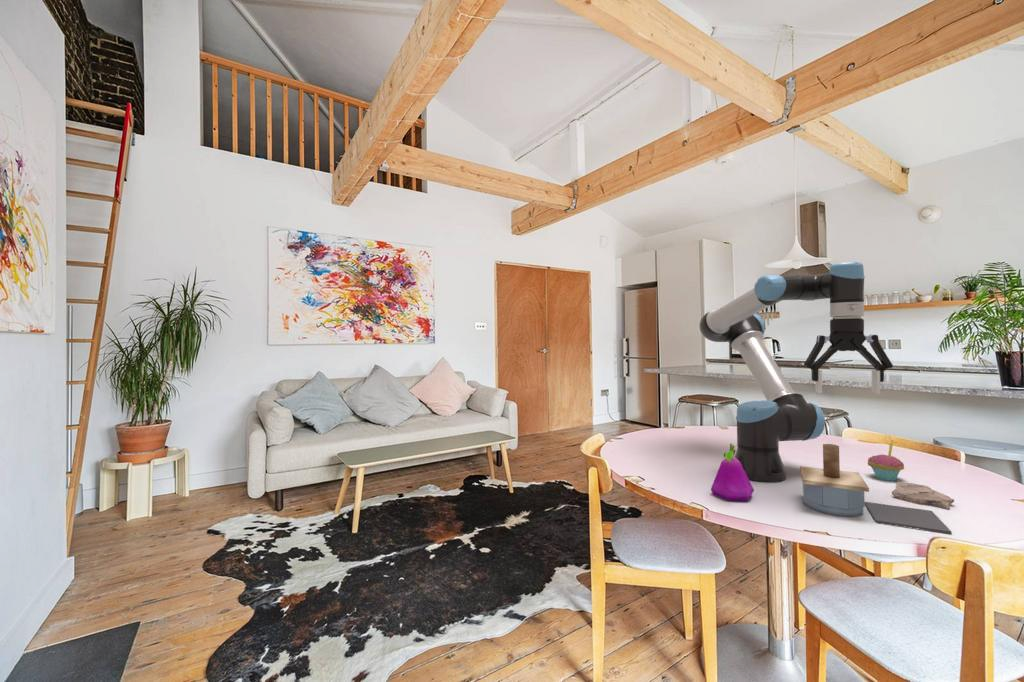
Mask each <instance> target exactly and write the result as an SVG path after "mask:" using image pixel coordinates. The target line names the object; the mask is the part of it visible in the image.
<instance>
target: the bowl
mask: <svg viewBox="0 0 1024 682" xmlns="http://www.w3.org/2000/svg"><path fill="white" fill-rule="evenodd" d="M801 481H802V483H801V484H802V495H803V496H802V499H803V504H804V505H805V506H806V507H807V508H809V509H811V510H813V511H817V512H819V513H822V514H827V515H831V516H838V517H847V518H849V517H850V518H851V517H859V516H861V515H863V514H864V508H866V505H865V491H857V490H850V489H842V488H834V487H826V486H818V485H810V484H803V480H802V479H801Z"/></svg>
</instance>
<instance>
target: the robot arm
mask: <svg viewBox="0 0 1024 682" xmlns="http://www.w3.org/2000/svg"><path fill="white" fill-rule="evenodd" d="M864 270H865V269H864V264H863V263H861V262H859V261H847V262H838V263H837V262H836V263H834V264H831V265H830V267H829V271H828V273H827V272H826V273H821V274H768V275H762V276H760V277H759V278H758V279H757V281H756V282H755V283H754V287H753V288H751V289H749V291H747V292H745V293H743V294H741V295H740V296H738V297H736V298H734V300H731V301H730V302H728V303H726V304H725V305H723V306H721V307H720V308H714V309H711V310H709V311H707V313H705V314H704V315H703V316H702V317H701V318H700V321H699V331H700V333H701V334H702V336H703V337H704V338H705V339H706V340H708V341H710V342H714V343H728V344H729V345H730V348H732V350H734V351H736V352H738V353H739V354H740V356H741V358H742V359H743V361H744V363H745V364H746V367H747V368H748V370H749V371H750V373H751V375H752V376H753V378H754V380H755V382H756V384H757V386H758V387H759V389H760V391H761V392H762V394H763V396H764V397H765V399H766V400H752V401H745V402H742V403H740V404H739V405H738V406H737V408H736V416H735V420H736V438H737V439H736V440H737V441H736V442H737V445H736V446H737V449H736V451H735V454H734V457H735V458H736V459H738V460H739V461H740V463H741V465H742V467H743V469H744V471H745V473H746V475H747V477H748V479H749V481H755V482H765V483H768V482H769V483H775V482H781V481H785V480H786V478H787V470H786V468H785V466H784V463H783V461H782V457H781V455H780V451H779V450H780V449H779V448H780V447H779V446H780V445H779V442H791V441H792V442H793V441H794V442H795V441H802V442H803V441H808V440H814V439H817V438H819V437H820V436H821V435H822V434H823V432H824V431H825V425H826V418H825V414H824V412H823V410H822V408H821V407H820V406H818V404H816V403H815V404H814V403H812V402H807V400H806V399H805V398H804V396H803V394H801V393H799V392H795V390H793V388H792V386H791V384H790V383H789V382H788V380H787V378H786V377H785V375H784V373H783V372H782V370H781V369H780V367H779V366H778V364H777V363H776V361H775V360H774V358H773V356H772V355H771V353H770V351H769V350H768V348H767V347H766V345H765V343H764V341H763V340H764V338H765V337H764V336H765V330H766V329H765V328H764V326H765V323H764V321H763V319H762V317H761V316H760V315H758V313H760V312H762V311H763V310H765V309H767V308H769V307H771V306H773V305H775V304H777V303H779V302H781V301H811V302H812V301H816V300H826V299H829V317H830V318H831V319H830V320H829V335H828V336H826V335H822V334H821V335H817V336H816V340H815V341H816V342H815V344H814V346H813V347H812V350H811V351H810V352H809V355H808V357H807V358H806V360H805V361H804V363H803V366H804V367H805V368H808V369H810V370H811V381H813V382H815V386H814V387H815V388H814V389H815V393H817V394H823V369H822V370H821V369H820V368H821V367H822V366H823V365H824V364H825V363H826V362H827V361H828V360H829V359H830V358H831V357H832V356H833V355H834V354H835V353H837V352H838V351H839V352H847V351H848V352H855V351H856V352H858V353H859V354H860V355H861V356H862V357H863V358H864V359H865V360H866V361H867V362H868V363H869V364H870V365H871V366H872V367H873V368H874V369H871V393H872V394H875V395H881V383H883V382H884V381H885V376H884V375H885V371H887V369H892V368H893V367H894V365H893V363H892V362H891V360H890V358H889V356H888V355H887V353H886V352H885V350H884V349H883V347H882V345H881V343H880V341H879V335H878V334H869V335H865V333H864V332H865V320H864V318H862V317H863V316H864V315H865V302H864V301H865V300H864V299H865V295H864V294H865V272H864ZM828 341H829V343H830V344H831V345H829V347H828V348H827V350H826V351H824V353H822V355H821V356H819V354H820V352H822V349H823V347H824V346H825V344H827V342H828ZM865 341H866V342H867V343H868V344H869V345H870V347H871V348H872V351H873V352H874V354H875V355H876V357H875V356H874V355H873V354H872V353H871V352H870V351H868V349H867V347H865V346H864V345H863V344H864V343H865ZM818 357H819V358H818ZM877 358H878V359H877ZM816 359H817V360H816Z"/></svg>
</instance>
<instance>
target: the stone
mask: <svg viewBox="0 0 1024 682" xmlns="http://www.w3.org/2000/svg"><path fill="white" fill-rule="evenodd" d="M891 495H892V496H893V497H894V498H895V499H897V500H901V501H905V502H908V503H912V504H917V505H920V506H921V505H926V506H931V507H936V508H939V509H943V510H950V509H951V508H950V507H951V505H952V503H954V502H955V499H954V498H951V497H950V496H948V495H946V494H944V493H941V492H939V491H937V490H934V489H932V488H931V487H930V486H928V485H924V484H918V483H913V482H905V481H898V482H896V483H895V488H894V489H893V490H892V491H891Z"/></svg>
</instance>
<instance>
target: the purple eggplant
mask: <svg viewBox="0 0 1024 682" xmlns="http://www.w3.org/2000/svg"><path fill="white" fill-rule="evenodd" d="M735 447H736V446H735V444H732V443H730V444H729V451H728V452H725V453H724V454H723V458H724V459H722V460H721V462H720V464H719V468H718V470H717V471H716V472H717V473H716V476H715V477H714V481H713V483H712V485H711V488H710V490H711V492H712V494H713V495H714V496H716V497H718V498H721V499H723V500H725V501H728V502H748V501H749V499H750V498H751V497H752V495H753V493H754V491H755V489H754V487H753V485H752V483H751V480H749V479H748V477H747V475H746V473H745V471H744V469H743V467H742V465H741V463H740V461H739V460H738V459H736V458H735V454H736V449H735Z"/></svg>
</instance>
